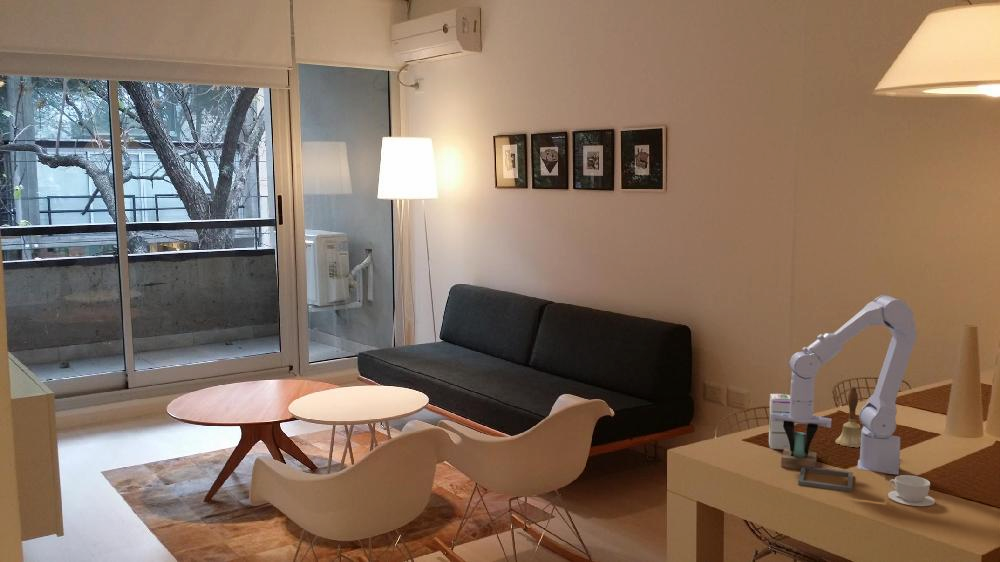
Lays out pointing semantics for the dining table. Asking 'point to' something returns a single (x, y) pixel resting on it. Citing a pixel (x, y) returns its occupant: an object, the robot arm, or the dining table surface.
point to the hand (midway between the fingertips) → (799, 451)
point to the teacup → (911, 491)
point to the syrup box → (776, 429)
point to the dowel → (799, 444)
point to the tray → (826, 485)
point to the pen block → (797, 460)
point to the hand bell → (851, 424)
